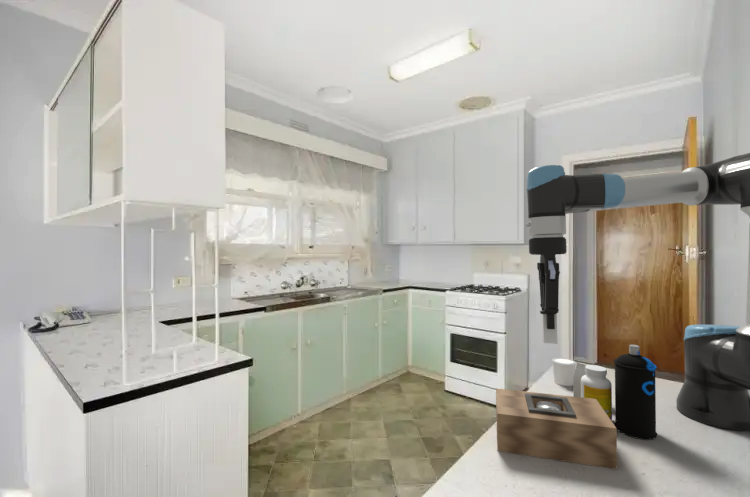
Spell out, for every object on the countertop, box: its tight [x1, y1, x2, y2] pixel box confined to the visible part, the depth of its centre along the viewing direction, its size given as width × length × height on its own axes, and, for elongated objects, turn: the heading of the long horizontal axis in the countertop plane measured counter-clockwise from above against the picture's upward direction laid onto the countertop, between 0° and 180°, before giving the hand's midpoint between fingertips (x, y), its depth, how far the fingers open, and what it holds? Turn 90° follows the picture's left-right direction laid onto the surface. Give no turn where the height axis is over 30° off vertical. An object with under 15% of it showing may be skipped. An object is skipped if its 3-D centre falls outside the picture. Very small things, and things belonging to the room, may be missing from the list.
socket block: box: [495, 388, 618, 470], centre depth 79 cm, size 22×14×9 cm, turn 72°
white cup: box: [551, 357, 577, 387], centre depth 113 cm, size 7×7×7 cm
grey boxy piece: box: [572, 361, 587, 397], centre depth 100 cm, size 4×7×10 cm, turn 30°
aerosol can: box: [613, 344, 658, 441], centre depth 84 cm, size 8×8×20 cm
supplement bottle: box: [581, 364, 613, 422], centre depth 90 cm, size 7×7×13 cm
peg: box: [536, 401, 561, 411], centre depth 79 cm, size 5×5×8 cm
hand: (550, 342), depth 79 cm, fingers closed
